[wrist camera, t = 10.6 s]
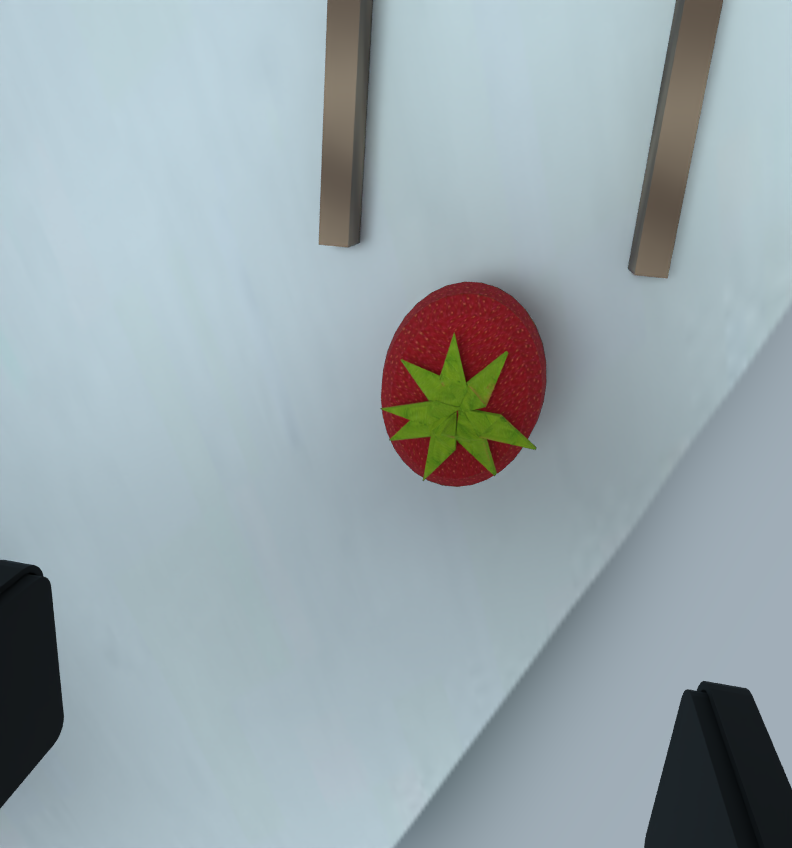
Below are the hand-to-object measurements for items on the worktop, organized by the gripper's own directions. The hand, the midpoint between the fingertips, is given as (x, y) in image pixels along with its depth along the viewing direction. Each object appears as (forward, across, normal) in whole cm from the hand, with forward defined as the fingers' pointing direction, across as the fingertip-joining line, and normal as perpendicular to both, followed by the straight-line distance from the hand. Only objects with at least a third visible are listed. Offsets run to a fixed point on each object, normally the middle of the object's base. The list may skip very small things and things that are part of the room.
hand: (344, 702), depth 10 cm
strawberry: (+22, 0, 0) cm, 23 cm away
